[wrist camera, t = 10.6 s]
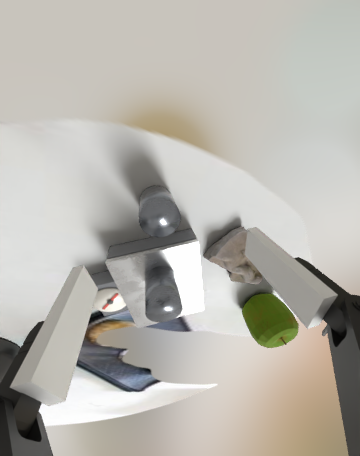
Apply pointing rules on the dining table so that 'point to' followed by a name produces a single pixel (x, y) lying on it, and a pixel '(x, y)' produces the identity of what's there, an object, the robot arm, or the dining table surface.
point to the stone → (234, 257)
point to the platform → (164, 256)
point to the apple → (269, 320)
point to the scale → (107, 289)
